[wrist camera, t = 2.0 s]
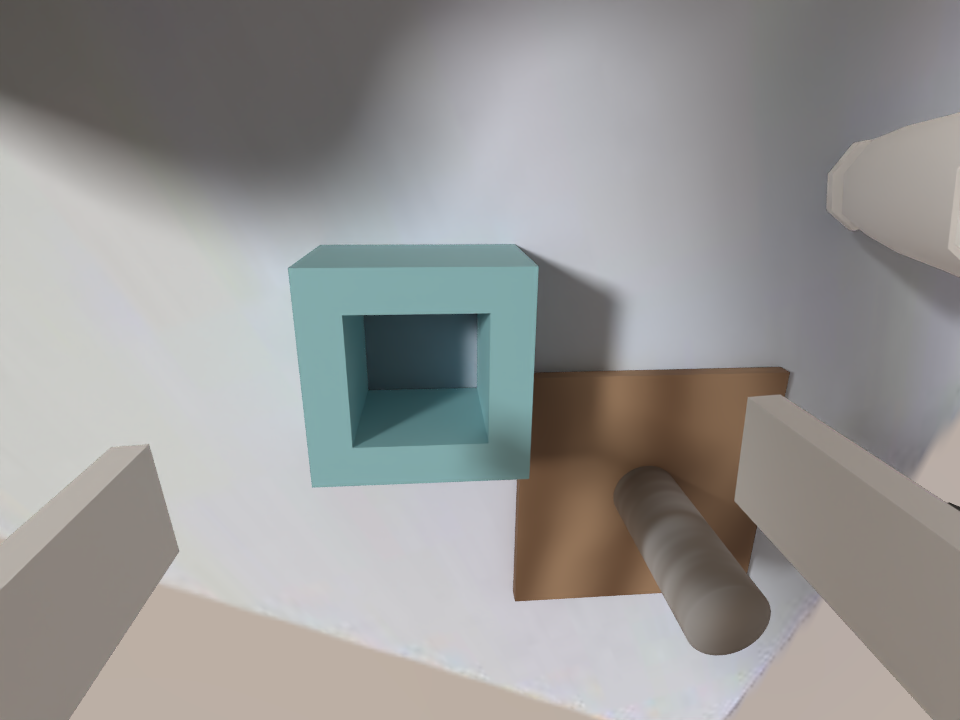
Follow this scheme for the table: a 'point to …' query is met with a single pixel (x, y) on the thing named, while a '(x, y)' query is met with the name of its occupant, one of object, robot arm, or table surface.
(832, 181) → the cup
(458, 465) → the collar
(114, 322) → the table surface
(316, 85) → the table surface
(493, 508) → the table surface
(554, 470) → the post stand
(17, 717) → the robot arm
